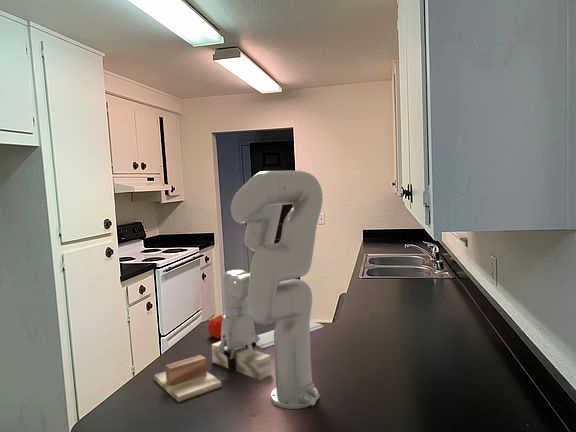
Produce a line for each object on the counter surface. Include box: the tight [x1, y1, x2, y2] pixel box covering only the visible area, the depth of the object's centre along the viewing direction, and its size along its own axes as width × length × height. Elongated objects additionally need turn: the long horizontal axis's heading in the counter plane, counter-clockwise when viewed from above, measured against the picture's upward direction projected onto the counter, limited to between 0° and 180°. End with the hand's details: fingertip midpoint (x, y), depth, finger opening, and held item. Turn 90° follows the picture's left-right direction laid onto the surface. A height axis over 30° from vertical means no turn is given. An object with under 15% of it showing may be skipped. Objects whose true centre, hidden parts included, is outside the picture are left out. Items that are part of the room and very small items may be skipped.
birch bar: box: [211, 340, 272, 381], centre depth 133 cm, size 22×4×6 cm, turn 49°
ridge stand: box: [153, 354, 223, 403], centre depth 124 cm, size 18×13×6 cm
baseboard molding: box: [255, 320, 325, 350], centre depth 162 cm, size 31×3×12 cm
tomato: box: [207, 314, 225, 340], centre depth 163 cm, size 11×11×8 cm
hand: (240, 366), depth 133 cm, fingers closed on birch bar, 5 cm apart
